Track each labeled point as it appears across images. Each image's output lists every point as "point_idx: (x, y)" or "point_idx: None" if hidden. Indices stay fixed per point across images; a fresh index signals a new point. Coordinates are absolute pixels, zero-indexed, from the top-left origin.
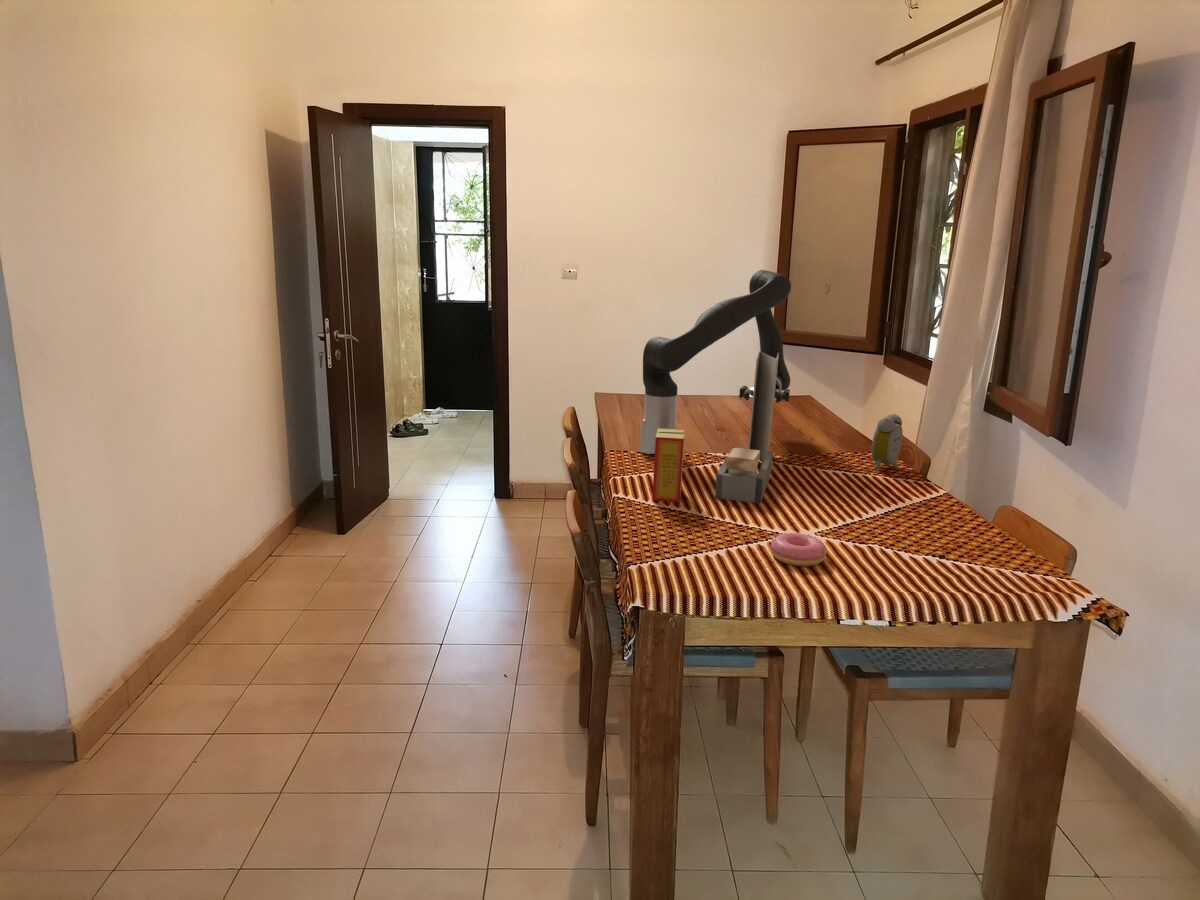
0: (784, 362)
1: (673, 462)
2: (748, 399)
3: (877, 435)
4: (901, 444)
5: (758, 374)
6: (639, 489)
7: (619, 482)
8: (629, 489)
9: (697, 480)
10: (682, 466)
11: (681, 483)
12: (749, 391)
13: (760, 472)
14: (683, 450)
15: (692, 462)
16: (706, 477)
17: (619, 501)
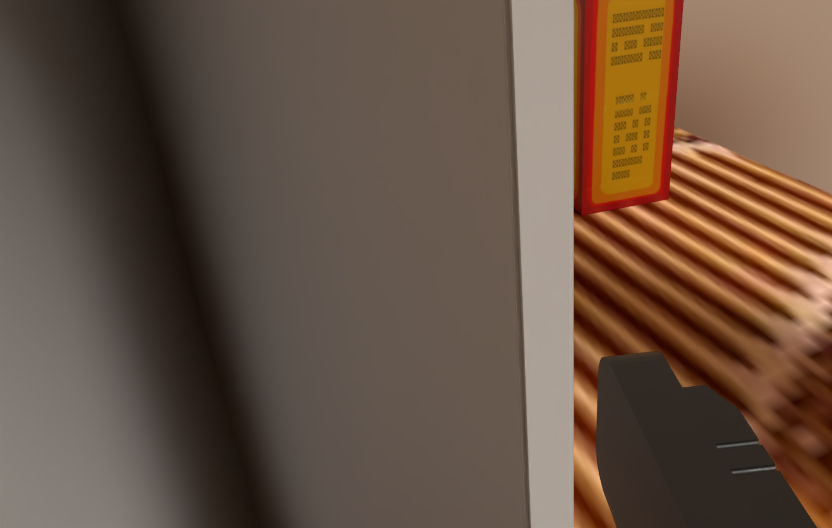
0: None
1: None
2: (616, 518)
3: None
4: None
5: (440, 14)
6: (708, 184)
7: (820, 196)
8: (734, 175)
9: (591, 300)
10: (575, 116)
11: (578, 183)
12: (674, 486)
13: None
14: (579, 59)
15: (820, 514)
16: (576, 339)
17: (681, 130)
